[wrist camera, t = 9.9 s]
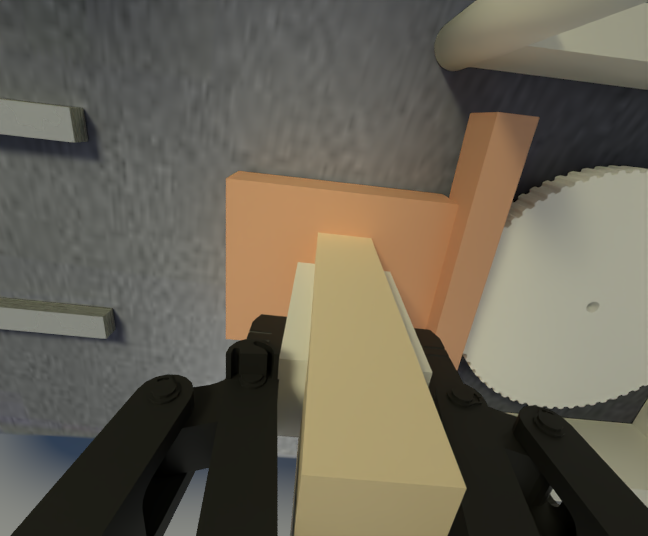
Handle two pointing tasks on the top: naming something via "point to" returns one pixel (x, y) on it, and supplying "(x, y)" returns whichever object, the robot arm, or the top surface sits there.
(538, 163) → the top surface
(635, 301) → the plastic lid
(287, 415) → the robot arm
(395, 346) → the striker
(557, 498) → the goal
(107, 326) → the rail track
